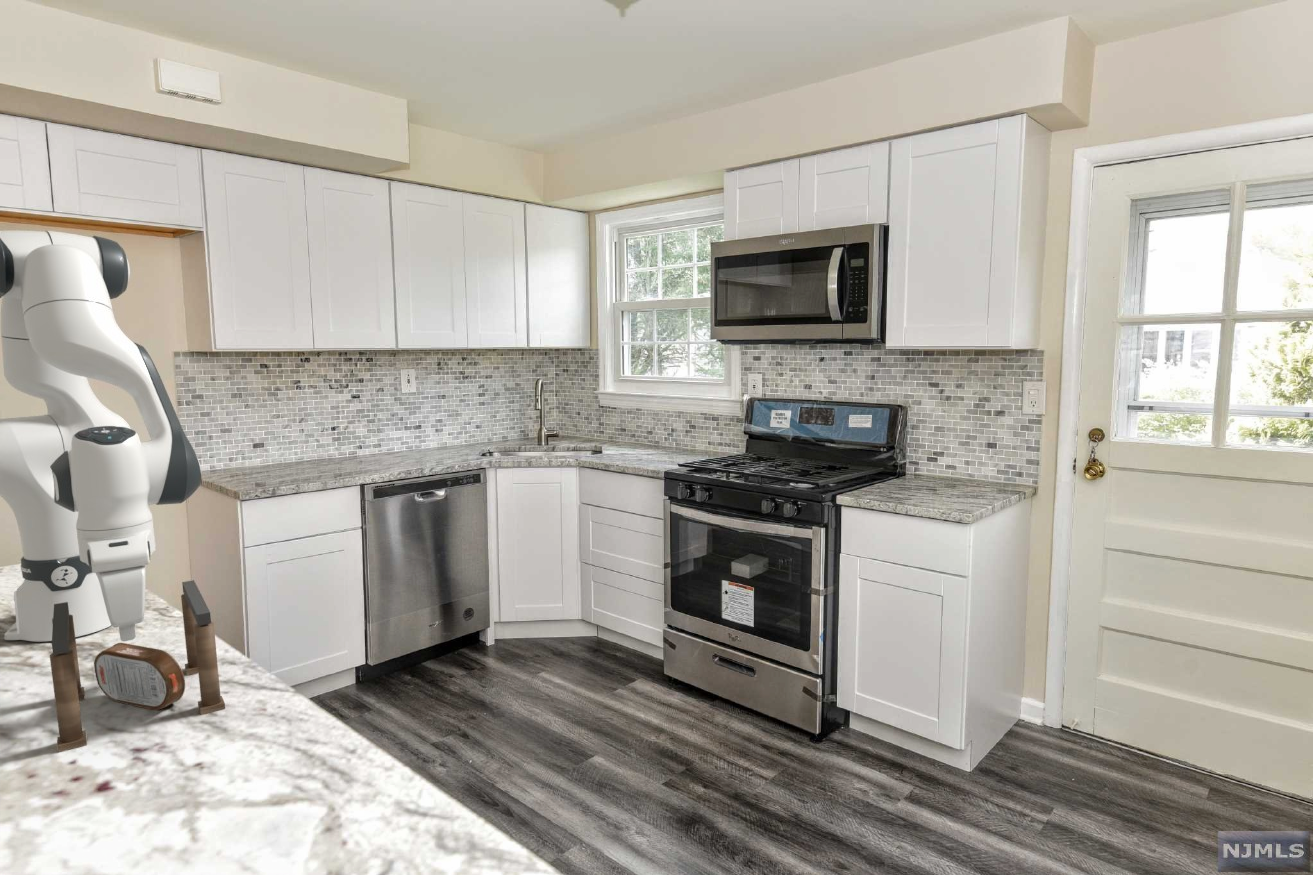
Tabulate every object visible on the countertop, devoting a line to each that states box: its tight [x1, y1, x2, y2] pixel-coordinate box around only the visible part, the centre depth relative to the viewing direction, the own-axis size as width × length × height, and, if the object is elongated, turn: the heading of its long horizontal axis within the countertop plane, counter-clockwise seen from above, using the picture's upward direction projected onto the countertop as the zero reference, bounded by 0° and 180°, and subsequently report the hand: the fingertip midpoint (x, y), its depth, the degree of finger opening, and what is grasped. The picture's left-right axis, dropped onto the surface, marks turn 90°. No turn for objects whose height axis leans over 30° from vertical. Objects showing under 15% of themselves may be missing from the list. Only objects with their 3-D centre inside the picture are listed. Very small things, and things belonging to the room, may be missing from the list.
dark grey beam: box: [181, 579, 212, 626], centre depth 116 cm, size 18×2×2 cm, turn 37°
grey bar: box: [51, 602, 69, 655], centre depth 106 cm, size 18×2×2 cm, turn 37°
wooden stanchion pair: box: [49, 593, 226, 753], centre depth 112 cm, size 19×19×12 cm
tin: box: [93, 642, 186, 711], centre depth 113 cm, size 15×3×8 cm, turn 71°
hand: (127, 637), depth 111 cm, fingers closed
